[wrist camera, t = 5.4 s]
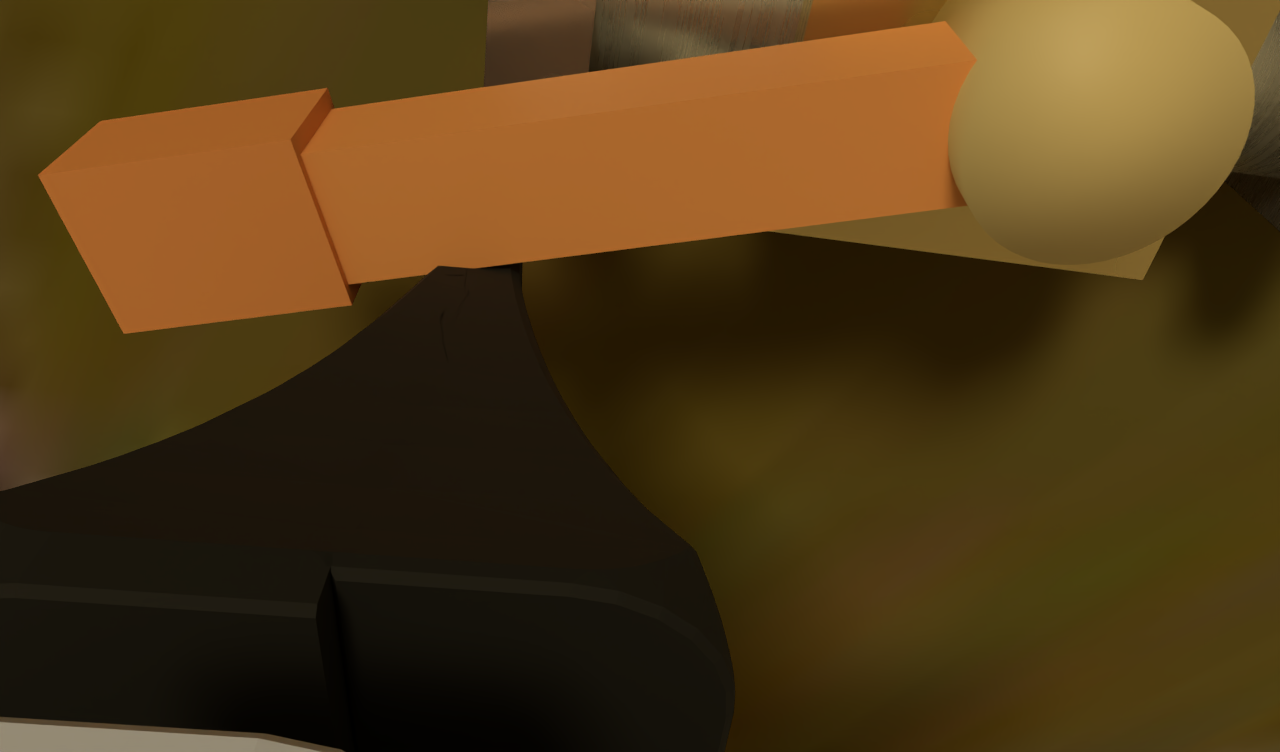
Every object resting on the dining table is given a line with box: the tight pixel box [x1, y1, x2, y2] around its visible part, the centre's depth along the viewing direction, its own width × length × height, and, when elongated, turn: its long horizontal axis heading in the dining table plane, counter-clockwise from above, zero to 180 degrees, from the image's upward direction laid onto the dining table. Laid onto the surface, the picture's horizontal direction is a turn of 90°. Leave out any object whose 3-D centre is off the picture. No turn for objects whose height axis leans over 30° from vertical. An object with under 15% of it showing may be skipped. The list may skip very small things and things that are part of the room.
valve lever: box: [38, 0, 1255, 334], centre depth 10 cm, size 12×3×2 cm, turn 98°
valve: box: [484, 0, 1280, 280], centre depth 13 cm, size 12×5×4 cm, turn 82°
